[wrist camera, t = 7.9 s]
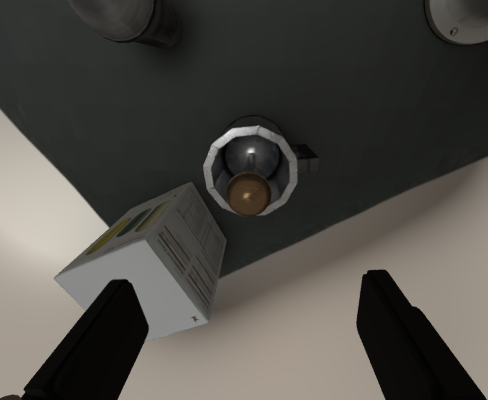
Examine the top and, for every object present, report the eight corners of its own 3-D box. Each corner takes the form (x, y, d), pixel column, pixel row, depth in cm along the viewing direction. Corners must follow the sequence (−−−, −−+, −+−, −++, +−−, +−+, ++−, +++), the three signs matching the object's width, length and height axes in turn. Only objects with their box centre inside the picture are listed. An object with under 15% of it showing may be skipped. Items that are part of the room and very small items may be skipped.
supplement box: (192, 178, 39) (146, 237, 23) (228, 240, 43) (211, 324, 27) (128, 208, 42) (48, 278, 26) (168, 262, 46) (122, 350, 30)
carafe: (302, 109, 33) (323, 116, 22) (302, 178, 38) (320, 212, 27) (214, 119, 35) (194, 130, 24) (224, 184, 39) (211, 220, 28)
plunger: (277, 125, 32) (295, 151, 17) (279, 178, 35) (296, 240, 20) (222, 130, 32) (192, 161, 17) (229, 182, 35) (209, 245, 20)
